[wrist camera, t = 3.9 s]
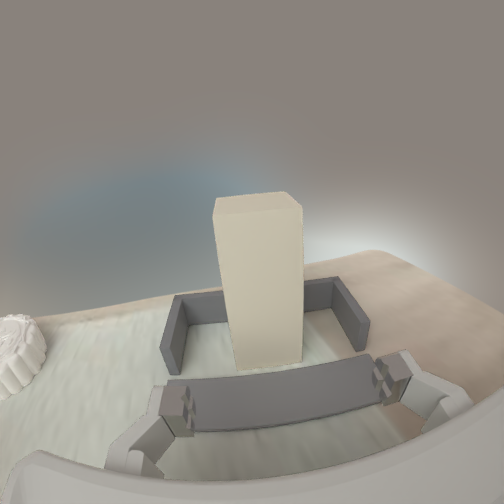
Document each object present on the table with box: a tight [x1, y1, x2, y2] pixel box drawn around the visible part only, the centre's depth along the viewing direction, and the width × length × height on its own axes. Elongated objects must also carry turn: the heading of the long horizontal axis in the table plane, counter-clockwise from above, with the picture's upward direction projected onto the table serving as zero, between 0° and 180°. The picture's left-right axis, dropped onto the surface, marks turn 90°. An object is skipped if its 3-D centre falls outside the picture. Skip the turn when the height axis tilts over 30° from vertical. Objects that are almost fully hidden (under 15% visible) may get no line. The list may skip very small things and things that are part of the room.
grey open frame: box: [159, 276, 381, 432], centre depth 20 cm, size 16×13×3 cm
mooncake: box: [0, 314, 47, 400], centre depth 17 cm, size 12×12×4 cm
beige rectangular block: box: [213, 191, 304, 371], centre depth 20 cm, size 5×5×12 cm
